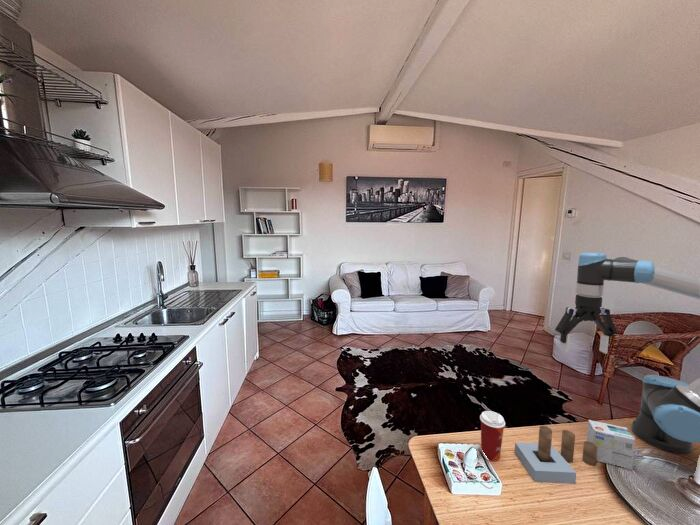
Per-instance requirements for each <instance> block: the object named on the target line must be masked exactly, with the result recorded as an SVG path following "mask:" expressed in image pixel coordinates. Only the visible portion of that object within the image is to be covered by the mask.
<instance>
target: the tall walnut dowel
mask: <svg viewBox="0 0 700 525" xmlns="http://www.w3.org/2000/svg"><path fill="white" fill-rule="evenodd" d="M538 430H539V431H538V456H537V458H538V459H539V461H540V462H550V455H551V444H552V439H553V429H552V428H550V427H549V426H547V425H540V426H539V429H538Z"/></svg>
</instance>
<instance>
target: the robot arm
mask: <svg viewBox="0 0 700 525" xmlns="http://www.w3.org/2000/svg"><path fill="white" fill-rule="evenodd" d="M577 264H578V265H577V276H576V290H575V292H576V295H575V300H574V303H575V308H573V307H568V306H567V307H566V308H565V312H564V313H563V316H562V317H561V319H560V320H559V322H558V324H557V325H556V327H555V329H554V330H555V331H556V332H557V333H559V334H560V339H559V342H561V350H562V351H563V352H565V353H567V354H568V353H569V352H570V338H571V335H570V334H569V333H571V331H573V329H575V328H576V326H578V325H579V324H580V323H582V322H588V321H589V322H594V323H595V325H597V327H598V328H599V329H600V330H601V332H602V333H600V339H599V342H600V343H599V350H598V351H599V352H601V353H603V354H606V355H607V354H608V350H609V345H610V343H611V338H614V336H615V335H617V334H618V331H617V330H618V329H617V328H616V326H615V323H614V322H613V319H612V317H611V310H610V309H608V308H605V307H602V306H603V297H602V296H603V295H604V285H605V281H609V282H610V281H613V282H624V283H625V282H626V283H635V284H642V285H643V284H644V285H646V286H650V287H653V288H658V289H661V290H664V291H667V292H672V293H675V294H678V295H683V296H686V297H689V298H692V299H693V298H694V299H696V300H700V275H699V274H698V275H697V274H694V273H690V272H685V271H682V270H677V269H672V268H668V267H665V266H662V265H657V264H655V263H654V262H653V261H650V260H641V259H639V260H637V259H633V258H629V257H625V256H618V257H615V258H613V259H611V258H607V254H606V253H604V252H602V253H599V252H583V253H580V255H579V256H578V263H577ZM600 314H601V318H600ZM602 319H603V321H602ZM631 431H632V433H633V434H634V435H635V436H636V437H638V438H639V439H640V440H642V441H643V442H645V443H647V444H649V445H651V446H652V447H655V448H658V449H661V450H664V451H666V452H668V453H669V452H670V453H674V454H680V455H681V454H682V455H685V454H687V455H688V454H690V453H691V452H692V450H693V444H696V443H698V444H699V443H700V377H698V378H696V379H695V380H694V381H692V382H691V383H689V384H688V383H687V382H684V381H681V380H679V379H676V378H671V377H668V376H663V375H657V374H647V375H646V374H645V376H644V377H643V381H642V391H641V401H640V410H639V413H638V414H637V416H636V417H635V419H634V420H633V421H632V424H631Z"/></svg>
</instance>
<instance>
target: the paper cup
mask: <svg viewBox="0 0 700 525" xmlns="http://www.w3.org/2000/svg"><path fill="white" fill-rule="evenodd" d="M479 420H480V442H481V444H480V446H481V447H480V448H482V450H483V452H484V453H485V455H486V456H487V458H488V459H489V460H488V461H490V462H498V461H499V460H500V459H501V458H500V457H501V451H502V444H503V436H504V428H505V426H506V421H505V419H504V416H502V415H501V414H500V413H498V412H495V411H492V410H484V411H482V412H481V414H480V415H479Z"/></svg>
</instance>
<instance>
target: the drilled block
mask: <svg viewBox="0 0 700 525" xmlns="http://www.w3.org/2000/svg"><path fill="white" fill-rule="evenodd" d="M514 443H515V444H514V454H515V455H516V456H517V458H518V459H519V460H520V462H521V463H522V465H523V466H524V468H525V469H526V471H527V473H528V474H529V475H530V477H531V478H532V480H533V481H534V482H538V483H539V482H543V483H562V484H576V480H577V472H576V470H575V469H574V468H573V467H572V465H571V464H569V462H567V461H566V460H565V459H564V458H563V457H562V456H561V452H559V451H558V450H557V449H556V448H555V446H554V445H553V444H552V443H551V455H550V462H540V461H539V459H538V458H537V456H538V443H537V442H535V443H533V442H532V443H531V442H514Z"/></svg>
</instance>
